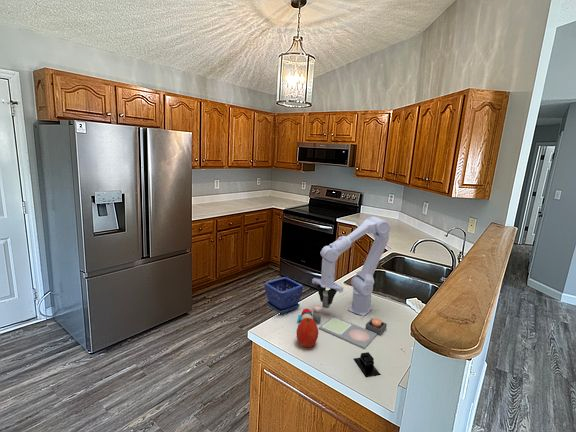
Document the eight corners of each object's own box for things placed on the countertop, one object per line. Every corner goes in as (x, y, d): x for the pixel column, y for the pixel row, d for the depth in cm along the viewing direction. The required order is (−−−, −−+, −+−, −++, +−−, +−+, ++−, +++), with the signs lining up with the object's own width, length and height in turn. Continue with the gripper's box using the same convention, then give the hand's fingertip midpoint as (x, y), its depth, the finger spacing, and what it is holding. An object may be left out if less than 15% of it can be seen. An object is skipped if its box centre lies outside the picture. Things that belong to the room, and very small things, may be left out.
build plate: (348, 357, 110) (349, 346, 109) (367, 354, 112) (368, 343, 111) (365, 382, 98) (367, 369, 97) (385, 379, 100) (387, 366, 99)
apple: (312, 336, 121) (314, 311, 119) (321, 348, 113) (323, 322, 111) (293, 339, 118) (294, 313, 116) (300, 352, 111) (301, 325, 109)
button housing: (371, 323, 132) (372, 318, 131) (386, 329, 128) (386, 323, 127) (365, 329, 127) (365, 324, 126) (380, 335, 123) (380, 330, 122)
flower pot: (262, 306, 143) (263, 282, 140) (284, 298, 151) (285, 275, 148) (280, 318, 133) (281, 293, 130) (302, 309, 141) (304, 285, 139)
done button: (373, 321, 129) (374, 317, 129) (382, 324, 127) (382, 320, 127) (370, 325, 126) (370, 320, 126) (378, 328, 124) (379, 324, 124)
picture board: (333, 317, 135) (333, 315, 135) (377, 335, 123) (377, 333, 123) (318, 328, 126) (318, 327, 126) (364, 349, 114) (364, 347, 114)
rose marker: (315, 318, 133) (316, 304, 132) (322, 321, 131) (323, 306, 130) (310, 322, 131) (311, 307, 129) (317, 325, 129) (319, 309, 127)
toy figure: (317, 339, 122) (314, 314, 136) (317, 329, 120) (314, 304, 134) (298, 339, 122) (297, 314, 136) (298, 329, 120) (297, 305, 134)
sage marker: (324, 303, 139) (325, 289, 137) (331, 306, 137) (332, 291, 135) (320, 306, 136) (321, 292, 135) (327, 309, 134) (328, 294, 133)
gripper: (309, 271, 134) (307, 300, 137) (338, 281, 126) (336, 311, 129) (317, 267, 140) (316, 295, 143) (346, 276, 131) (344, 305, 134)
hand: (326, 302), depth 136 cm, fingers closed on sage marker, 3 cm apart
